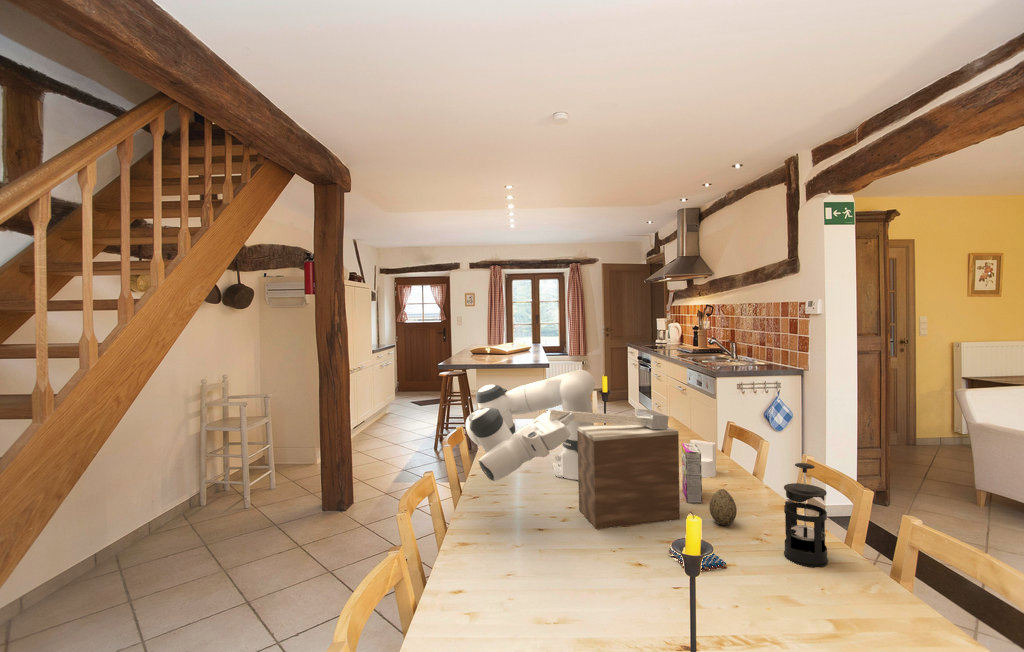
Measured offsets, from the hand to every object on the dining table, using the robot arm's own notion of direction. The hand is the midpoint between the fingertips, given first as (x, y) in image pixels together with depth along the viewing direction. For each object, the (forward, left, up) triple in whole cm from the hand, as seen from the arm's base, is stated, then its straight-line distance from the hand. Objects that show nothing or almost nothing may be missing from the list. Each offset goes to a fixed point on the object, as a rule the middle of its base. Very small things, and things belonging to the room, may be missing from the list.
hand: (571, 413), depth 147 cm
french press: (+35, +47, -32) cm, 67 cm away
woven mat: (+30, +21, -32) cm, 49 cm away
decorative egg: (+13, +40, -32) cm, 53 cm away
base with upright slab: (-28, +60, -32) cm, 74 cm away
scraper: (0, +10, -3) cm, 11 cm away
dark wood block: (0, +17, -32) cm, 36 cm away
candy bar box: (-8, +43, -32) cm, 54 cm away
